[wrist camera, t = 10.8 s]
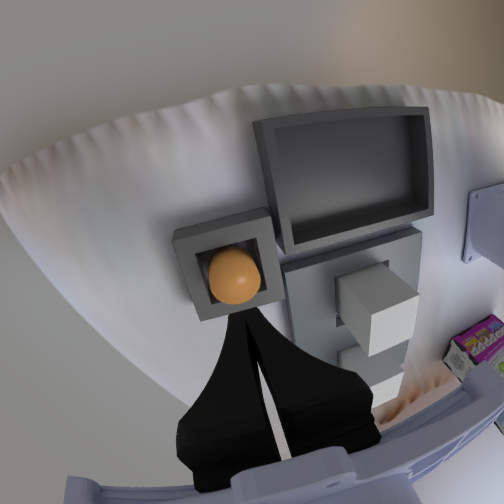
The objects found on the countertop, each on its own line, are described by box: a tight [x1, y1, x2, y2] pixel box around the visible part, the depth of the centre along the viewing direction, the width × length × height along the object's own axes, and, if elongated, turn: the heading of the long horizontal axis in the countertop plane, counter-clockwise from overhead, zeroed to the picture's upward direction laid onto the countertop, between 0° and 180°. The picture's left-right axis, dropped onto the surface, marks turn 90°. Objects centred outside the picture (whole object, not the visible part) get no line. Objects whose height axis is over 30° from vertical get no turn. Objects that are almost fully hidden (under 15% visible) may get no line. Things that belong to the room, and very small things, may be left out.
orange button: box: [208, 246, 261, 304], centre depth 18 cm, size 3×3×2 cm
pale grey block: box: [334, 262, 420, 357], centre depth 20 cm, size 4×4×6 cm
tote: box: [253, 107, 434, 256], centre depth 17 cm, size 12×8×2 cm
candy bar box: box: [443, 314, 504, 435], centre depth 24 cm, size 11×5×16 cm, turn 97°
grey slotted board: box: [280, 227, 422, 367], centre depth 24 cm, size 12×16×1 cm
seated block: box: [337, 343, 404, 409], centre depth 24 cm, size 4×4×6 cm
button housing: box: [172, 208, 286, 321], centre depth 19 cm, size 6×6×2 cm
